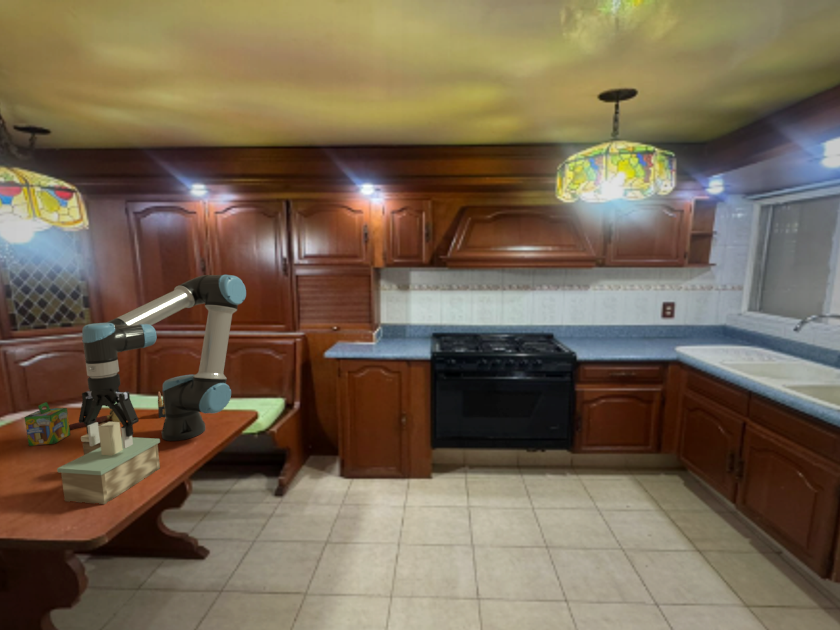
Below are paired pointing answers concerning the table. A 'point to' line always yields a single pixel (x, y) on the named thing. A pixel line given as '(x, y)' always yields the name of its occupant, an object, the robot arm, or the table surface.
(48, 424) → the chalk box
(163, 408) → the ammunition clip
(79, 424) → the gavel
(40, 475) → the table surface
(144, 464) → the tan open box
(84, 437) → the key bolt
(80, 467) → the lid
